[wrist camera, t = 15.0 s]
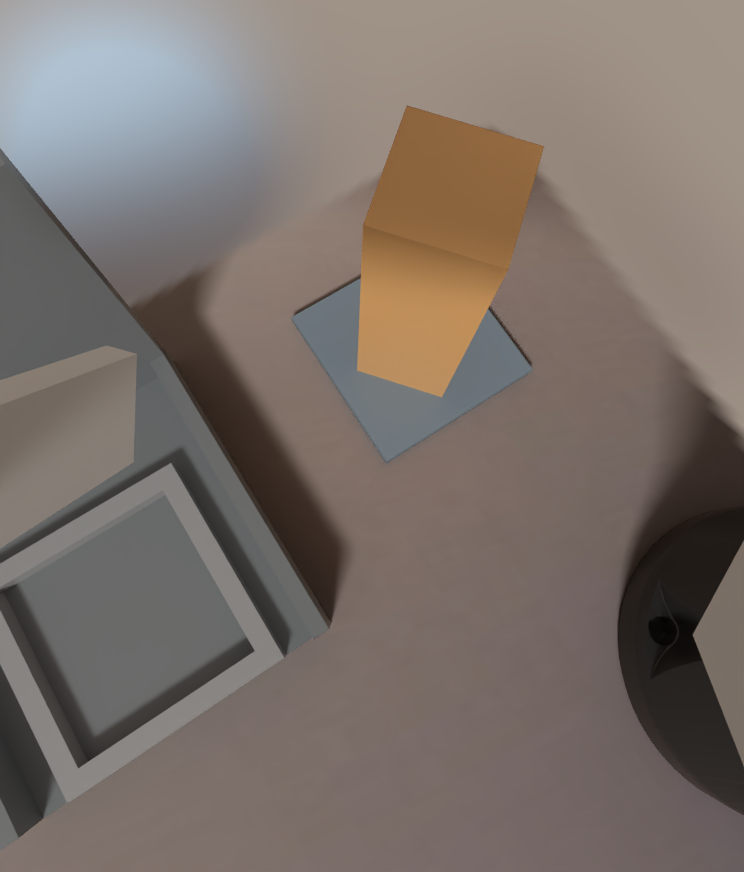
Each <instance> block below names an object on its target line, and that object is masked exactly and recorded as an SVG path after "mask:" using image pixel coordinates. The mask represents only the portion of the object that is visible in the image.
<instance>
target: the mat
mask: <svg viewBox="0 0 744 872" xmlns="http://www.w3.org/2000/svg"><path fill="white" fill-rule="evenodd" d="M360 288H361V278H360V279H358V280H356V281H355V282H353V283H351V284H349V285H348V286H346V287H344V288H342V289H340V290H339V291H337V292H335V293H333V294H332V295H330V296H328V297H326V298H325V299H323V300H321V301H319V302H318V303H316V304H314V305H312V306H310V307H309V308H307V309H305V310H303V311H302V312H300V313H298V314H296V315H295V316H293V317H292V321H293V323H294V324H295V326H296V327H297V329H298V330H299V332H300V333H301V335H302V336H303V338H304V339H305V341H306V342H307V344H308V346H309V347H310V349H311V350H312V352H313V353H314V355H315V356H316V358H317V359H318V361H319V362H320V364H321V365H322V367H323V368H324V370H325V371H326V373H327V374H328V376H329V377H330V379H331V380H332V382H333V383H334V385H335V386H336V388H337V390H338V391H339V393H340V394H341V396H342V397H343V399H344V400H345V402H346V403H347V405H348V406H349V408H350V409H351V411H352V412H353V414H354V415H355V417H356V418H357V420H358V421H359V423H360V424H361V426H362V427H363V429H364V430H365V432H366V434H367V435H368V437H369V438H370V440H371V441H372V443H373V444H374V446H375V447H376V449H377V450H378V452H379V453H380V455H381V456H382V458H383V459H384V461H385V462H386V463H387V462H389V461H391V460H392V459H394V458H395V457H397V456H399V455H400V454H402V453H403V452H405V451H406V450H408V449H410V448H411V447H413V446H414V445H416V444H418V443H419V442H421V441H422V440H424V439H425V438H427V437H429V436H430V435H432V434H433V433H435V432H437V431H438V430H440V429H441V428H443V427H444V426H446V425H448V424H449V423H451V422H452V421H454V420H456V419H457V418H459V417H460V416H462V415H463V414H465V413H467V412H468V411H470V410H471V409H473V408H475V407H476V406H478V405H479V404H481V403H482V402H484V401H486V400H487V399H489V398H490V397H492V396H494V395H495V394H497V393H498V392H500V391H501V390H503V389H505V388H506V387H508V386H509V385H511V384H513V383H514V382H516V381H517V380H519V379H520V378H522V377H524V376H525V375H527V374H528V373H530V372H531V371H532V370H533V369H532V367H531V366H530V365H529V363H528V362H527V361H526V359H525V358H524V357H523V355H522V354H521V353H520V351H519V350H518V349H517V347H516V346H515V344H514V343H513V342H512V340H511V339H510V338H509V336H508V335H507V334H506V332H505V331H504V330H503V328H502V327H501V325H500V324H499V323H498V321H497V320H496V319H495V317H494V316H493V315H492V313H491V312H490V311H489V309H487V311H486V313H485V315H484V317H483V319H482V321H481V323H480V325H479V327H478V329H477V331H476V333H475V334H474V336H473V338H472V340H471V342H470V344H469V346H468V348H467V350H466V352H465V354H464V356H463V358H462V359H461V361H460V363H459V365H458V367H457V369H456V371H455V373H454V375H453V377H452V379H451V381H450V383H449V384H448V386H447V388H446V390H445V392H444V394H443V396H442V397H439V396H436V395H433V394H430V393H427V392H424V391H420V390H417V389H414V388H411V387H408V386H405V385H401V384H398V383H395V382H392V381H389V380H386V379H382V378H379V377H376V376H373V375H370V374H367V373H363V372H360V371H357V361H358V336H359V312H360Z"/></svg>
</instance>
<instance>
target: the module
mask: <svg viewBox="0 0 744 872" xmlns="http://www.w3.org/2000/svg"><path fill="white" fill-rule="evenodd" d="M543 148H544V146H541V145H538V144H534V143H531V142H527V141H524V140H521V139H517V138H514V137H511V136H507V135H504V134H501V133H497V132H494V131H491V130H487V129H484V128H480V127H477V126H474V125H470V124H467V123H464V122H460V121H457V120H453V119H450V118H447V117H443V116H440V115H437V114H433V113H430V112H427V111H423V110H420V109H417V108H413V107H410V106H407V107H406V109H405V112H404V115H403V118H402V120H401V123H400V126H399V129H398V131H397V134H396V137H395V140H394V142H393V145H392V148H391V150H390V153H389V156H388V159H387V161H386V164H385V167H384V169H383V172H382V175H381V178H380V180H379V183H378V186H377V189H376V191H375V194H374V197H373V199H372V202H371V205H370V208H369V210H368V213H367V216H366V219H365V221H364V224H363V240H362V264H361V288H360V312H359V336H358V361H357V371H360V372H363V373H367V374H370V375H373V376H376V377H379V378H382V379H386V380H389V381H392V382H395V383H398V384H401V385H405V386H408V387H411V388H414V389H417V390H420V391H424V392H427V393H430V394H433V395H436V396H439V397H442V396H443V394H444V392H445V390H446V388H447V386H448V384H449V383H450V381H451V379H452V377H453V375H454V373H455V371H456V369H457V367H458V365H459V363H460V361H461V359H462V358H463V356H464V354H465V352H466V350H467V348H468V346H469V344H470V342H471V340H472V338H473V336H474V334H475V333H476V331H477V329H478V327H479V325H480V323H481V321H482V319H483V317H484V315H485V313H486V311H487V309H488V308H489V306H490V304H491V302H492V300H493V298H494V296H495V294H496V292H497V290H498V288H499V286H500V284H501V283H502V281H503V279H504V277H505V275H506V273H507V271H508V269H509V265H510V262H511V258H512V255H513V252H514V248H515V245H516V241H517V238H518V234H519V231H520V227H521V224H522V221H523V217H524V214H525V210H526V207H527V203H528V200H529V197H530V193H531V190H532V186H533V183H534V179H535V176H536V172H537V169H538V166H539V162H540V159H541V155H542V152H543Z"/></svg>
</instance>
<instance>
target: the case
mask: <svg viewBox="0 0 744 872" xmlns="http://www.w3.org/2000/svg"><path fill="white" fill-rule="evenodd" d="M104 346H110V347H114V348H118V349H121V350H125V351H128V352H132V353H136V354H137V368H136V401H135V434H134V462H133V463H132V464H130V465H129V466H127V467H125V468H124V469H122V470H121V471H119V472H118V473H116V474H115V475H113V476H111V477H110V478H108V479H107V480H105V481H104V482H102V483H101V484H99V485H98V486H96V487H94V488H93V489H91V490H90V491H88V492H87V493H85V494H84V495H82V496H81V497H79V498H77V499H76V500H74V501H73V502H71V503H70V504H68V505H67V506H65V507H64V508H62V509H60V510H59V511H57V512H56V513H54V514H53V515H51V516H50V517H48V518H47V519H45V520H43V521H42V522H40V523H39V524H37V525H36V526H34V527H33V528H31V529H30V530H28V531H26V532H25V533H23V534H22V535H20V536H19V537H17V538H16V539H14V540H13V541H11V542H9V543H8V544H6V545H5V546H3V547H2V548H0V850H1V849H3V848H4V847H6V846H7V845H9V844H10V843H12V842H13V841H15V840H16V839H18V838H19V837H20V836H22V835H23V834H24V833H25V832H27V831H28V830H29V829H30V828H32V827H33V826H34V825H36V824H37V823H38V822H39V821H41V820H42V819H43V818H45V817H46V816H48V815H49V814H51V813H52V812H54V811H55V810H57V809H58V808H60V807H61V806H62V805H64V804H65V803H67V804H68V803H69V802H70V801H72V800H73V799H75V798H76V797H78V796H79V795H81V794H82V793H84V792H85V791H87V790H88V789H90V788H91V787H93V786H94V785H96V784H97V783H99V782H100V781H102V780H103V779H105V778H106V777H108V776H109V775H111V774H112V773H114V772H115V771H117V770H118V769H120V768H121V767H123V766H124V765H125V764H127V763H128V762H130V761H131V760H133V759H134V758H136V757H137V756H139V755H140V754H142V753H143V752H145V751H146V750H148V749H149V748H151V747H152V746H154V745H155V744H157V743H158V742H160V741H161V740H163V739H164V738H166V737H167V736H169V735H170V734H172V733H173V732H175V731H176V730H178V729H179V728H181V727H182V726H183V725H185V724H186V723H188V722H189V721H191V720H192V719H194V718H195V717H197V716H198V715H200V714H201V713H203V712H204V711H206V710H207V709H209V708H210V707H212V706H213V705H215V704H216V703H218V702H219V701H221V700H222V699H224V698H225V697H227V696H228V695H230V694H231V693H233V692H234V691H236V690H237V689H238V688H240V687H241V686H243V685H244V684H246V683H247V682H249V681H250V680H252V679H253V678H255V677H256V676H258V675H259V674H261V673H262V672H264V671H265V670H267V669H268V668H270V667H271V666H273V665H274V664H276V663H277V662H279V661H280V660H282V659H283V658H284V657H285V656H286V655H287V654H289V653H290V652H292V651H293V650H295V649H296V648H298V647H299V646H300V645H302V644H303V643H305V642H306V641H308V640H309V639H311V638H312V637H313V638H314V639H315V638H316V637H318V636H319V635H321V634H322V633H324V632H325V631H327V630H328V629H329V628H330V625H331V622H330V620H329V619H328V617H327V615H326V614H325V612H324V610H323V609H322V607H321V605H320V604H319V602H318V600H317V599H316V597H315V595H314V594H313V592H312V591H311V589H310V587H309V586H308V584H307V582H306V581H305V579H304V577H303V576H302V574H301V572H300V571H299V569H298V567H297V566H296V564H295V562H294V561H293V559H292V557H291V556H290V554H289V552H288V551H287V549H286V547H285V546H284V544H283V542H282V541H281V539H280V538H279V536H278V534H277V533H276V531H275V529H274V528H273V526H272V524H271V523H270V521H269V519H268V518H267V516H266V514H265V513H264V511H263V509H262V508H261V506H260V504H259V503H258V501H257V499H256V498H255V496H254V494H253V493H252V491H251V489H250V488H249V486H248V485H247V483H246V481H245V480H244V478H243V476H242V475H241V473H240V471H239V470H238V468H237V466H236V465H235V463H234V461H233V460H232V458H231V456H230V455H229V453H228V451H227V450H226V448H225V446H224V445H223V443H222V441H221V440H220V438H219V436H218V435H217V433H216V432H215V430H214V428H213V427H212V425H211V423H210V422H209V420H208V418H207V417H206V415H205V413H204V412H203V410H202V408H201V407H200V405H199V403H198V402H197V400H196V398H195V397H194V395H193V393H192V392H191V390H190V388H189V387H188V385H187V383H186V382H185V380H184V379H183V377H182V375H181V374H180V372H179V370H178V369H177V367H176V365H175V364H174V362H173V360H172V359H171V358H170V357H169V355H168V354H167V353H166V352H165V350H164V349H163V348H162V347H161V346H160V344H159V343H158V342H157V341H156V339H155V338H154V337H153V336H152V335H151V333H150V332H149V331H148V330H147V328H146V327H145V326H144V325H143V323H142V322H141V321H140V320H139V319H138V317H137V316H136V315H135V314H134V312H133V311H132V310H131V309H130V307H129V306H128V305H127V304H126V303H125V301H124V300H123V299H122V298H121V296H120V295H119V294H118V293H117V292H116V290H115V289H114V288H113V287H112V285H111V284H110V283H109V282H108V281H107V279H106V278H105V277H104V275H103V274H102V273H101V272H100V271H99V269H98V268H97V267H96V266H95V264H94V263H93V262H92V261H91V259H90V258H89V257H88V256H87V255H86V253H85V252H84V251H83V250H82V248H81V247H80V246H79V245H78V244H77V242H76V241H75V240H74V239H73V237H72V236H71V235H70V234H69V232H68V231H67V230H66V229H65V228H64V226H63V225H62V224H61V223H60V221H59V220H58V219H57V218H56V217H55V215H54V214H53V213H52V212H51V210H50V209H49V208H48V207H47V206H46V204H45V203H44V202H43V200H42V199H41V198H40V197H39V196H38V194H37V193H36V192H35V191H34V189H33V188H32V187H31V186H30V184H29V183H28V182H27V181H26V180H25V178H24V177H23V176H22V175H21V173H20V172H19V171H18V170H17V169H16V167H15V166H14V165H13V164H12V162H11V161H10V160H9V159H8V157H7V156H6V155H5V154H4V153H3V151H2V150H1V149H0V380H3V379H6V378H9V377H12V376H15V375H18V374H21V373H24V372H27V371H30V370H33V369H36V368H39V367H42V366H45V365H49V364H52V363H55V362H58V361H61V360H64V359H67V358H70V357H73V356H76V355H79V354H82V353H85V352H88V351H91V350H94V349H97V348H100V347H104Z"/></svg>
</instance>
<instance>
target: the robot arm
mask: <svg viewBox="0 0 744 872" xmlns="http://www.w3.org/2000/svg"><path fill="white" fill-rule="evenodd" d="M136 368H137V354H136V353H132V352H128V351H125V350H121V349H118V348H114V347H110V346H104V347H100V348H97V349H94V350H91V351H88V352H85V353H82V354H79V355H76V356H73V357H70V358H67V359H64V360H61V361H58V362H55V363H52V364H49V365H45V366H42V367H39V368H36V369H33V370H30V371H27V372H24V373H21V374H18V375H15V376H12V377H9V378H6V379H3V380H0V548H2V547H3V546H5V545H6V544H8V543H9V542H11V541H13V540H14V539H16V538H17V537H19V536H20V535H22V534H23V533H25V532H26V531H28V530H30V529H31V528H33V527H34V526H36V525H37V524H39V523H40V522H42V521H43V520H45V519H47V518H48V517H50V516H51V515H53V514H54V513H56V512H57V511H59V510H60V509H62V508H64V507H65V506H67V505H68V504H70V503H71V502H73V501H74V500H76V499H77V498H79V497H81V496H82V495H84V494H85V493H87V492H88V491H90V490H91V489H93V488H94V487H96V486H98V485H99V484H101V483H102V482H104V481H105V480H107V479H108V478H110V477H111V476H113V475H115V474H116V473H118V472H119V471H121V470H122V469H124V468H125V467H127V466H129V465H130V464H132V463H133V462H134V434H135V401H136ZM619 654H620V663H621V669H622V674H623V678H624V682H625V686H626V689H627V693H628V696H629V699H630V701H631V704H632V706H633V709H634V711H635V713H636V715H637V717H638V719H639V721H640V723H641V725H642V727H643V728H644V730H645V732H646V733H647V735H648V737H649V738H650V740H651V741H652V743H653V744H654V745H655V747H656V748H657V749H658V751H659V752H660V753H661V754H662V755H663V757H664V758H665V759H666V760H667V761H668V762H669V763H670V764H671V765H672V766H673V768H674V769H675V770H677V771H678V772H679V773H680V774H681V775H682V776H683V777H684V778H685V779H687V780H688V781H689V782H691V783H692V784H693V785H694V786H696V787H697V788H699V789H700V790H702V791H703V792H705V793H706V794H708V795H710V796H711V797H713V798H715V799H716V800H718V801H720V802H721V803H723V804H725V805H726V806H728V807H730V808H731V809H733V810H735V811H737V812H738V813H740V814H742V815H744V506H741V507H735V508H730V509H724V510H718V511H713V512H709V513H705V514H702V515H699V516H696V517H694V518H691V519H689V520H687V521H685V522H683V523H681V524H679V525H678V526H676V527H675V528H673V529H672V530H670V531H669V532H668V533H666V534H665V535H664V536H663V537H661V538H660V539H659V540H658V541H657V542H656V543H655V544H654V545H653V546H652V547H651V549H650V550H649V551H648V552H647V553H646V555H645V556H644V557H643V559H642V560H641V562H640V563H639V565H638V567H637V568H636V570H635V572H634V574H633V576H632V578H631V580H630V583H629V585H628V588H627V591H626V594H625V597H624V601H623V605H622V610H621V615H620V623H619Z"/></svg>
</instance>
